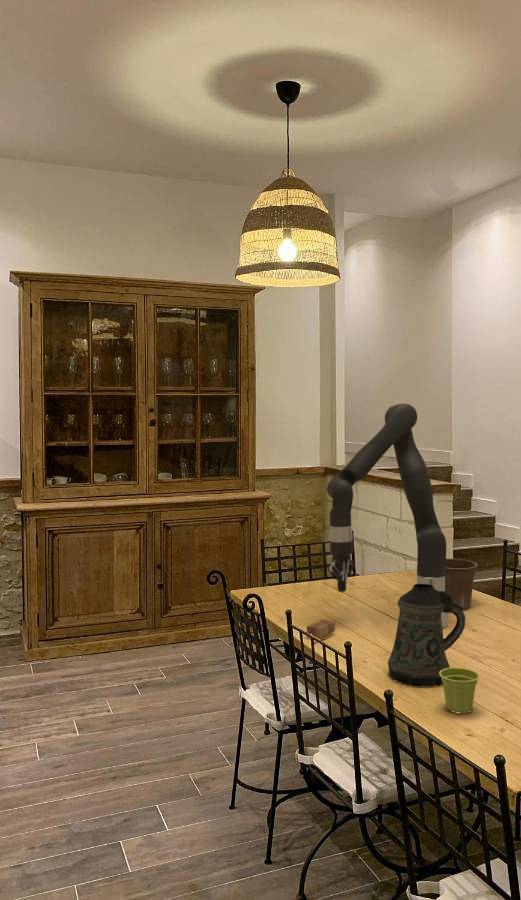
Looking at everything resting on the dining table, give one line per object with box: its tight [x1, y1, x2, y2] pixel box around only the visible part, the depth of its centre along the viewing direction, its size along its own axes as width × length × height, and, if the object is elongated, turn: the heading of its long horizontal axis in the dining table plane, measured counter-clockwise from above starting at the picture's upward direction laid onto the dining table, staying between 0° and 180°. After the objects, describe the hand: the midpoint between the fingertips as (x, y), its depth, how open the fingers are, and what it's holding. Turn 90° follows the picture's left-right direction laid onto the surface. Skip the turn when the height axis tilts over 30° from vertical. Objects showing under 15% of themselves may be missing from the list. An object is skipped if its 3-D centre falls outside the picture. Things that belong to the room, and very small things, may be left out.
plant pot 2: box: [439, 667, 480, 714], centre depth 178 cm, size 9×9×9 cm
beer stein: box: [387, 583, 467, 688], centre depth 200 cm, size 16×19×25 cm
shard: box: [313, 632, 334, 644], centre depth 234 cm, size 11×8×2 cm
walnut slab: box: [306, 618, 336, 638], centre depth 236 cm, size 5×3×9 cm
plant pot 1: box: [445, 558, 478, 611], centre depth 270 cm, size 16×16×16 cm
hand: (342, 591), depth 243 cm, fingers closed
